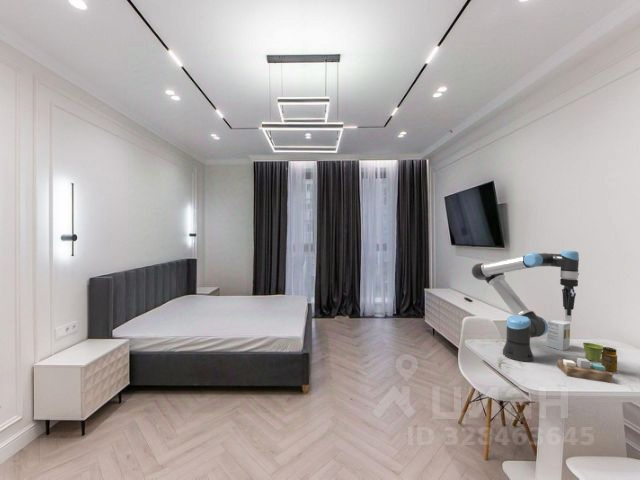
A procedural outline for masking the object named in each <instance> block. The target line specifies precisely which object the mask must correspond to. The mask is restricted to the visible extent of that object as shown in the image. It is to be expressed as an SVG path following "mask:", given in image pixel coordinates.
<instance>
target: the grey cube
mask: <svg viewBox="0 0 640 480" xmlns="http://www.w3.org/2000/svg"><path fill="white" fill-rule="evenodd" d="M576 362H577V366H578V367H580V368H585V369H590V364H591V360H587V359H586V358H580V357H577V358H576Z"/></svg>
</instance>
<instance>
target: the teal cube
mask: <svg viewBox="0 0 640 480" xmlns="http://www.w3.org/2000/svg"><path fill="white" fill-rule="evenodd" d="M590 364H591V367H592V368H593V369H594V370H599V371H605V367H604V366H602V365H601V364H600V363H593V362H590Z"/></svg>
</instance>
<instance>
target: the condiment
mask: <svg viewBox="0 0 640 480" xmlns="http://www.w3.org/2000/svg"><path fill="white" fill-rule="evenodd" d="M617 353H618V352H617V349H616V348H613V347H609V346H603V350H602V354H601V358H600V362H601V365H602V366H604V367H605V370H607V371H608V372H609V373H611V374H612V375H613V374H622V372H620V371H618V355H617Z"/></svg>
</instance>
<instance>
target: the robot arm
mask: <svg viewBox="0 0 640 480" xmlns="http://www.w3.org/2000/svg"><path fill="white" fill-rule="evenodd" d="M579 256H580V255H579V252H578V251H576V250H575V251H574V250H562V251H561V253H546V252H541V253H536V252H532V253H527V254H526V255H521V256H517V257H516V256H515V257H512V258H507V259H503V260H498V261H494V262H482V263H480V262H479V263H476V264H474V265H473V266H472V268H471V274H472V276H473V277H474V278H475V279H476V280H478V281H479V280H480V281H485V282H486V283H487V284H488V286H492V287H493V288H494V291H496V293H498V295H499V296H500V298H501V299H502V301H503V302H504V303H505V304H506V306H507V307H508V309H509V310H510V311H511V313H512V314H513V315H509V316H508V317H507V320H506V340H505V343H504V346H503V348H502V355H503V356H504V355H505V358H508V359H511V360H514V361H520V362H533V361H534V354H533V352H532V351H533V350H532V348H531V338H538V337H541V336H544V335H546V334H547V329H548V325H547V320H546V319H544V318H543V317H541V316H539V315H537V314H536V312H534V310H530V309H529V308H528V307H527V306H526V304H525V303H524V302H523V301H522V300H521V298H520V296H519V295H517V293H516V292H515V291H514V289H513V288H512V287H511V286H510V284H509V283H508V281H507V280H505V279H506V278H505V277H506V275H505V274H504V273H509V272H514V271H515V272H516V271H520V270H526V269H531V268H532V269H533V268H537V267H538V268H539V267H554V268H560V274H559V277H560V279H559V284H560V286H563V288H562V289H561V292H562V307H563V309H564V311H563V312H564V317H563V320H564V322H569V323H570V322H571V323H572V314H573V313H572V310H574V307H575V300H576V297H577V296H576V294H577V293H576V292H575V289H574V287H579V280H578V279H579V275H580V273H579V264H580V263H579V262H580V257H579Z"/></svg>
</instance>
